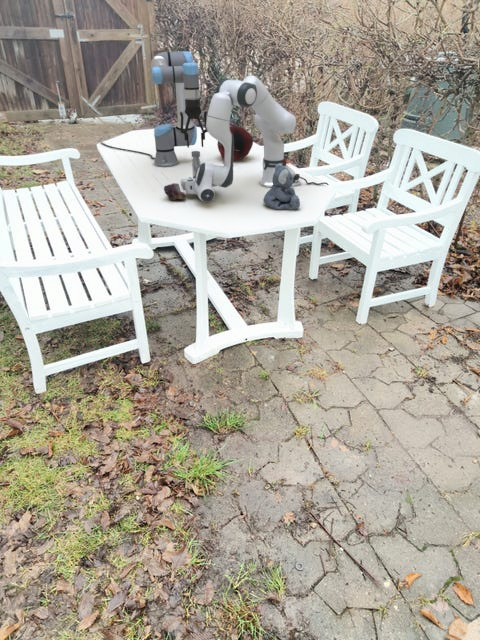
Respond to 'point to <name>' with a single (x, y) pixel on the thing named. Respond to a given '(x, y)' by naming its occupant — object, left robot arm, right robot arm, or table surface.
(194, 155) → the cap
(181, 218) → the table surface
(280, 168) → the koala plush
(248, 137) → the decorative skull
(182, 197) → the rock
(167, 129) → the left robot arm
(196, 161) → the bottle
